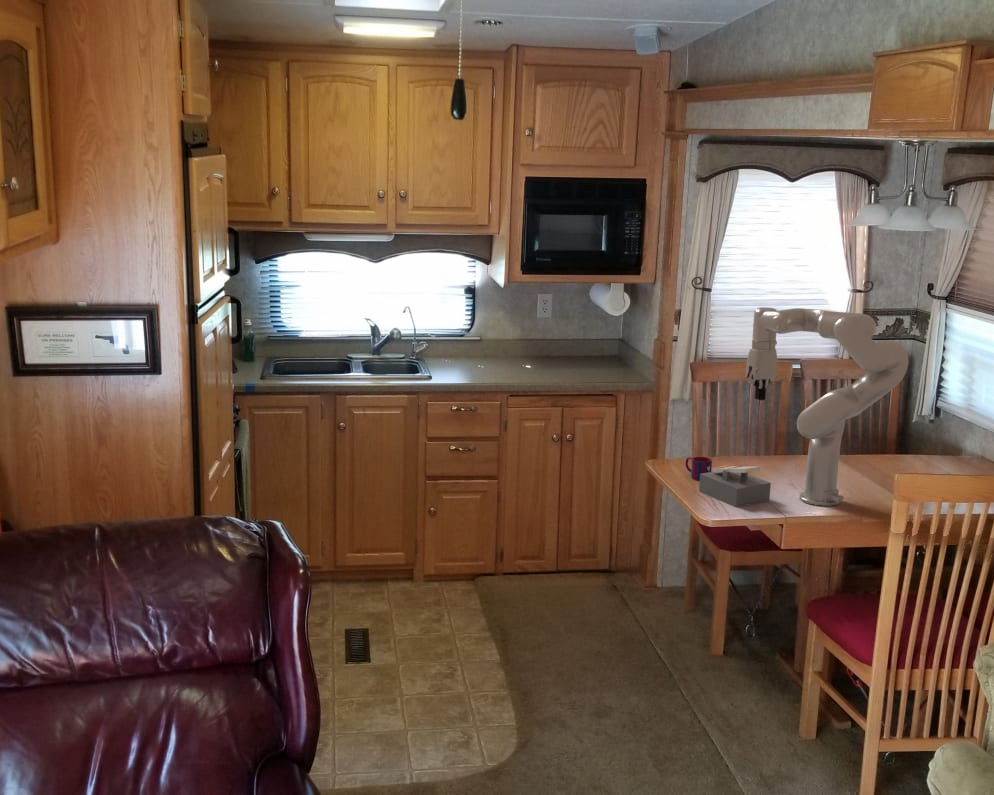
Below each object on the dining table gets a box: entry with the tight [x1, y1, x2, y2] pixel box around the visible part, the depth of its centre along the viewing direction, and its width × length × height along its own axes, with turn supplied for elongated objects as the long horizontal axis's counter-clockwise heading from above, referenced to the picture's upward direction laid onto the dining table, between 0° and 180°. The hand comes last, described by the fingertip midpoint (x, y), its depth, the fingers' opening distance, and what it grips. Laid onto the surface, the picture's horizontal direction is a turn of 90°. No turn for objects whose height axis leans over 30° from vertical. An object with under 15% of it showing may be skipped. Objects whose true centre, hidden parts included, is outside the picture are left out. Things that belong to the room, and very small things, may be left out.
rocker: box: [711, 464, 761, 473], centre depth 332 cm, size 16×6×2 cm, turn 28°
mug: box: [685, 456, 713, 482], centre depth 353 cm, size 7×10×7 cm
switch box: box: [698, 470, 772, 508], centre depth 333 cm, size 18×14×9 cm
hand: (759, 399), depth 342 cm, fingers closed
